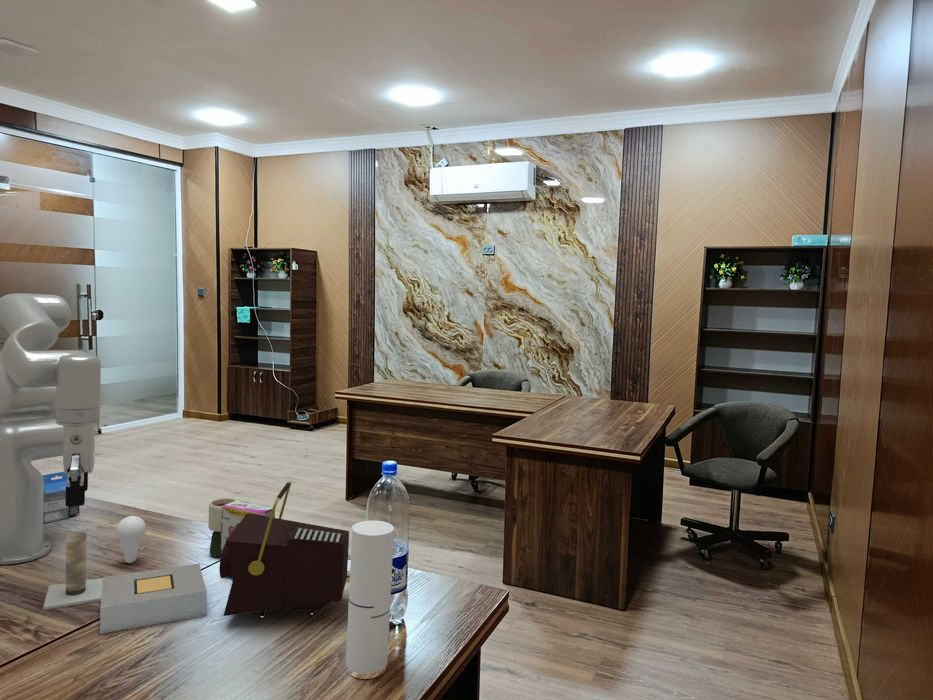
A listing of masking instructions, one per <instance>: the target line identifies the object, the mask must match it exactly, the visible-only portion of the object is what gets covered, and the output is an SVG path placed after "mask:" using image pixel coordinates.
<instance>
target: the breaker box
mask: <svg viewBox="0 0 933 700" xmlns="http://www.w3.org/2000/svg"><path fill="white" fill-rule="evenodd" d="M165 576H170V580H171V587H172V589H168V590H162V591H155V592H149V593H142V594H137V580H144V579H151V578H158V577H165ZM102 578H103V584H102V596H101V601H100V608H99V609H100V613H99V615H100V616H99V619H100V620H99V622H100V623H99V635H104V634H103V633H106V634H109V633H108V632H112V633H115V632H114V631H117V632H122V631H121V630H123V631H127V630H126V629H129V630H133V629H139V627H140V628H145V626H146V627H149V626H150V625H151V626H155V625H154V624H157V625H160V624H159V623H162V624H166V623H165V622H168V623H172V622H171V621H174V622H178V621H177V620H179V621H182V620H181V619H185V620H189V619H188V618H191V619H195V618H194V617H196V618H200V617H199V616H202V617H205V616H204V615H206V616H207V593H208V592H207V588H206V584H205V579H204V576H203V572H202V568H201V565H200V563H195V564H188V565H187V564H186V565H180V566H173V567H164V568H157V569H153V570H152V569H151V570H150V569H149V570H144V571H143V570H142V571H136V572H130V573H123V574H114V575H109V576H103V577H102ZM132 628H133V629H132ZM119 630H120V631H119Z"/></svg>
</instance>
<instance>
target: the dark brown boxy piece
mask: <svg viewBox="0 0 933 700" xmlns="http://www.w3.org/2000/svg"><path fill="white" fill-rule="evenodd" d="M291 486H292V481H290V480H288V482H286V483H285V485H284V486H283V487H282V489H281V490H280V492H279V493H278V495H277V497H276V499H275V501H274V502H273V505H272V511H271V515H270V517H267V516H261V515H256V514H250V513H247V514H246V515H245V517H244V518H243V519H242V520H241V522H240V523H239V524H238V526H237V527H236V528H235V529H234V531H233V532H232V533H231V534H230V536H229V537H228V538H227V540H226V543H225V545H224V547H223V550H222V553H221V556H220V559H219V568H218V569H219V576H220V577H219V578H220V579H225V578H230V576H232V578H231V585H230V589H229V592H228V596H227V601H226V604H225V607H224V611H223V615H222V617H226V616H227V617H228V616H234V615H243V614H251V613H258V612H259V617H260V616H264V615H266V612H271V611H273V612H274V611H275V612H278V611H279V612H280V611H281V612H283V611H309V614H310V613H314V614H315V611H321V610H322V609H324V608H325V607H326V606H328V605H330V604H331V603H337V602H342V599H343V596H344V591H345V587H346V582H347V578H348V566H349V547H350V546H349V545H350V531H349V530H345V529H340V528H335V527H328V526H323V525H317V524H311V523H307V522H306V523H304V522H300V521H296V520H295V521H294V520H289V519H285V518H284V519H283V513H284V511H285V508H286V507H285V506H286V504H287V499H288V497H289V494H290V493H289V491H290V490H291ZM283 497H284V498H283ZM282 498H283V501H282V506H281V509H280V512H279V517H278V518H277V517H275V518H273V515H274V512H275V513H276V509H277V505H278V503H279V501H280V500H281V499H282ZM264 617H265V616H264Z"/></svg>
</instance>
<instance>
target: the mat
mask: <svg viewBox="0 0 933 700" xmlns="http://www.w3.org/2000/svg"><path fill="white" fill-rule="evenodd" d="M102 584H103V577H102V578H95V579H86V591H85V592H84V593H82V594H79V595H74V596H69V595H66V582H65V583H59V584H50V585H48V588H47V589H48V590H47V592H46V596H45V600H44V604H43V607H42V609H43V611H44V610H45V611H47V610H52V609H58V608H59V607H60V608H65V607H71V605H73V606H78V605H84V604H85V605H86V604H91V603H98V602H101V596H102ZM60 608H59V609H60Z"/></svg>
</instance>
